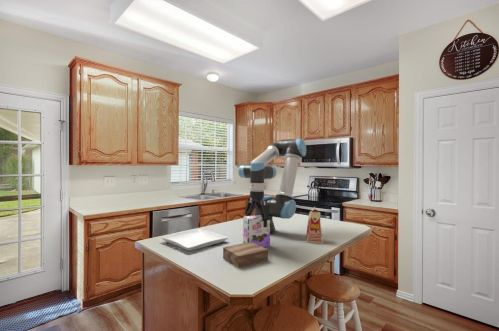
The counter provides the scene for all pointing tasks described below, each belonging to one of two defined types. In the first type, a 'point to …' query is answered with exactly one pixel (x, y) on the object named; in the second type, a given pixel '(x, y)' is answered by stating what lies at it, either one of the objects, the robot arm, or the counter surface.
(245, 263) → the walnut block
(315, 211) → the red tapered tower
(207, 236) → the square plate
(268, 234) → the candy box
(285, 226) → the counter surface
